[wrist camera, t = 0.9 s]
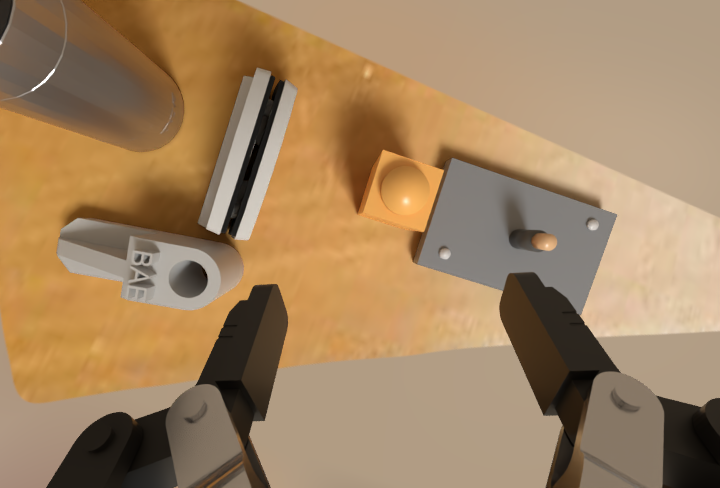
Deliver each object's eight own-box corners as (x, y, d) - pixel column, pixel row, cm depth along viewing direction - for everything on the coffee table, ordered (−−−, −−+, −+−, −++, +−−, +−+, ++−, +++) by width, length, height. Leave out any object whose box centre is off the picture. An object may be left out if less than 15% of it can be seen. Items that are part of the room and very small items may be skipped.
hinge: (244, 76, 33) (249, 36, 24) (287, 97, 35) (306, 68, 26) (197, 225, 34) (185, 241, 25) (242, 237, 36) (245, 256, 27)
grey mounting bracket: (80, 215, 33) (-2, 213, 25) (248, 247, 35) (220, 255, 27) (72, 266, 34) (-11, 281, 26) (239, 296, 35) (209, 319, 27)
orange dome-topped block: (357, 214, 35) (363, 212, 25) (372, 167, 35) (384, 147, 25) (403, 229, 35) (426, 232, 26) (418, 182, 35) (447, 168, 26)
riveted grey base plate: (412, 261, 36) (430, 271, 29) (445, 161, 35) (471, 146, 28) (568, 309, 37) (620, 330, 30) (602, 214, 37) (663, 213, 30)
